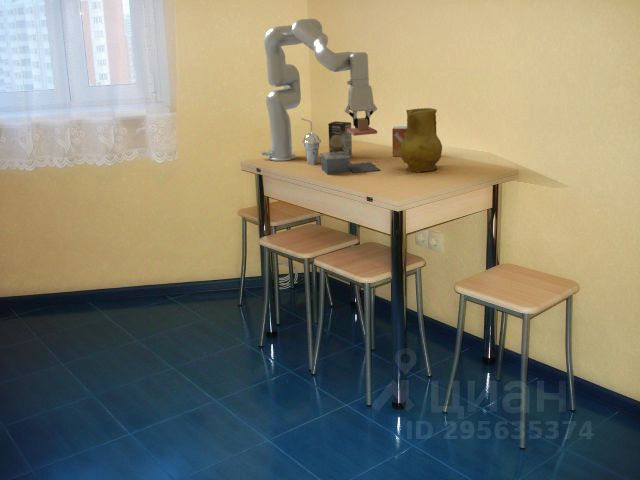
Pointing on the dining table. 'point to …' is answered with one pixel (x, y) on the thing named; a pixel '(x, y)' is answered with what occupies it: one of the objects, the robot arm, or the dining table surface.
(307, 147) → the cup with straw
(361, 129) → the lid
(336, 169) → the tin
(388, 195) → the dining table surface
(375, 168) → the mat
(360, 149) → the dining table surface
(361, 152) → the dining table surface
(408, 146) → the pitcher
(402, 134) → the small box
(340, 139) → the coffee box
